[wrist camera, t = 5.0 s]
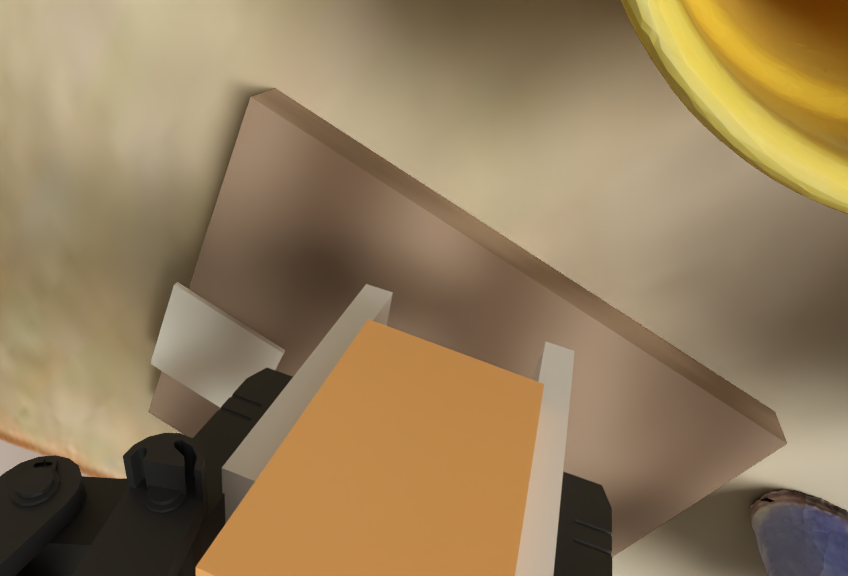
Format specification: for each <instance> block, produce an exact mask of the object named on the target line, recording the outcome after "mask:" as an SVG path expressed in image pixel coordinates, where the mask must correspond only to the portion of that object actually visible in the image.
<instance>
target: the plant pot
mask: <svg viewBox="0 0 848 576" xmlns="http://www.w3.org/2000/svg"><path fill="white" fill-rule="evenodd" d="M621 2H622V5H623V7H624V9H625V12H626V14H627V16H628V18H629V20H630V22H631V24H632V26H633V28H634V30H635V32H636V34H637V36H638V37H639V39H640V41H641V43H642V44H643V46H644V47H645V49H646V51H647V52H648V54H649V56H650V58H651V59H652V61H653V62H654V64H655V65H656V67H657V68H658V70H659V71H660V72H661V74H662V75H663V77H664V78H665V80H666V81H667V83H668V84H669V86H670V87H671V89H672V90H673V91H674V93H675V94H676V95H677V96H678V97H679V99H680V100H681V101H682V102H683V103H684V105H685V106H686V107H687V108H688V110H689V111H690V112H691V113H692V114H693V115H694V116H695V117H696V118H697V119H698V120H699V121H700V122H701V123H702V124H703V125H704V126H705V127H706V128H707V129H708V130H709V131H710V132H712V133H713V134H714V135H715V136H716V137H717V138H718V139H719V140H720V141H722V142H723V143H724V144H725V145H727V146H728V147H729V148H730V149H732V150H733V151H734V152H735V153H736V154H738V155H739V156H740V157H741V158H743V159H744V160H745V161H746V162H748V163H749V164H751V165H752V166H754V167H755V168H757V169H758V170H760V171H761V172H763V173H764V174H766V175H767V176H769V177H770V178H772V179H774V180H775V181H777V182H779V183H781V184H783V185H784V186H786V187H788V188H790V189H791V190H793V191H795V192H797V193H799V194H801V195H803V196H806V197H808V198H810V199H812V200H815V201H817V202H819V203H821V204H824V205H826V206H828V207H830V208H833V209H836V210H839V211H841V212H844V213H847V214H848V0H621Z"/></svg>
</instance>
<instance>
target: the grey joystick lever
mask: <svg viewBox="0 0 848 576" xmlns="http://www.w3.org/2000/svg"><path fill="white" fill-rule="evenodd" d="M543 389H544V384H543V383H540V382H537V381H535V380H532V379H529V378H526V377H524V376H521V375H518V374H516V373H513V372H510V371H507V370H505V369H502V368H499V367H497V366H494V365H491V364H489V363H486V362H483V361H480V360H478V359H475V358H472V357H470V356H467V355H464V354H461V353H459V352H456V351H453V350H451V349H448V348H445V347H443V346H440V345H437V344H434V343H432V342H429V341H426V340H424V339H421V338H418V337H415V336H413V335H410V334H407V333H405V332H402V331H399V330H397V329H394V328H391V327H388V326H386V325H383V324H380V323H378V322H375V321H372V320H369V319H368V320H367V321H366V323H365V324H364V326H363V327H362V328H361V330H360V331H359V333H358V334H357V336H356V337H355V339H354V340H353V341H352V343H351V344H350V346H349V347H348V349H347V350H346V351H345V353H344V354H343V356H342V357H341V359H340V360H339V362H338V363H337V364H336V366H335V367H334V369H333V370H332V372H331V373H330V374H329V376H328V377H327V379H326V380H325V382H324V383H323V385H322V386H321V387H320V389H319V390H318V392H317V393H316V395H315V396H314V397H313V399H312V400H311V402H310V403H309V405H308V406H307V408H306V409H305V410H304V412H303V413H302V415H301V416H300V418H299V419H298V420H297V422H296V423H295V425H294V426H293V428H292V429H291V431H290V432H289V433H288V435H287V436H286V438H285V439H284V441H283V442H282V443H281V445H280V446H279V448H278V449H277V451H276V452H275V454H274V455H273V456H272V458H271V459H270V461H269V462H268V464H267V465H266V466H265V468H264V469H263V471H262V472H261V474H260V475H259V477H258V478H257V479H256V481H255V482H254V484H253V485H252V487H251V488H250V489H249V491H248V492H247V494H246V495H245V497H244V498H243V500H242V501H241V502H240V504H239V505H238V507H237V508H236V510H235V511H234V512H233V514H232V515H231V517H230V518H229V520H228V521H227V523H226V524H225V525H224V527H223V528H222V530H221V531H220V533H219V534H218V535H217V537H216V538H215V540H214V541H213V543H212V544H211V546H210V547H209V548H208V550H207V551H206V553H205V554H204V556H203V557H202V558H201V560H200V561H199V563H198V564H197V566H196V576H515V572H516V565H517V559H518V552H519V546H520V539H521V533H522V526H523V520H524V513H525V507H526V500H527V494H528V487H529V480H530V474H531V467H532V461H533V454H534V448H535V441H536V435H537V428H538V422H539V415H540V409H541V402H542V396H543Z"/></svg>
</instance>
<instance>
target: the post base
mask: <svg viewBox="0 0 848 576" xmlns="http://www.w3.org/2000/svg"><path fill="white" fill-rule="evenodd" d="M366 284H368V285H371V286H374V287H377V288H380V289H384V290H387V291H390V292H393V294H392V299H391V305H390V310H389V316H388V322H387V326H388V327H391V328H394V329H397V330H399V331H402V332H405V333H407V334H410V335H413V336H415V337H418V338H421V339H424V340H426V341H429V342H432V343H434V344H437V345H440V346H443V347H445V348H448V349H451V350H453V351H456V352H459V353H461V354H464V355H467V356H470V357H472V358H475V359H478V360H480V361H483V362H486V363H489V364H491V365H494V366H497V367H499V368H502V369H505V370H507V371H510V372H513V373H516V374H518V375H521V376H524V377H526V378H529V379H531V378H532V375H533V373H534V370H535V367H536V365H537V362H538V360H539V357H540V354H541V352H542V349H543V347H544V344H545V341H546V342H549V343H552V344H555V345H558V346H561V347H564V348H567V349H571V350H574V351H575V353H574V363H573V374H572V384H571V395H570V405H569V416H568V427H567V437H566V448H565V458H564V469H563V471H564V472H566V473H569V474H572V475H575V476H578V477H581V478H583V479H586V480H589V481H592V482H595V483H597V484H600V485H602V486H603V489H604V491H605V493H606V496H607V498H608V501H609V503H610V505H611V508H612V533H611V537H612V553H611V556H612V557H613V556H614V555H616V554H617V553H619V552H621V551H622V550H624V549H625V548H627V547H628V546H630V545H631V544H633V543H634V542H636V541H638V540H639V539H641V538H642V537H644V536H645V535H647V534H648V533H650V532H651V531H653V530H655V529H656V528H658V527H659V526H661V525H662V524H664V523H665V522H667V521H668V520H670V519H672V518H673V517H675V516H676V515H678V514H679V513H681V512H682V511H684V510H685V509H687V508H689V507H690V506H692V505H693V504H695V503H696V502H698V501H699V500H701V499H702V498H704V497H706V496H707V495H709V494H710V493H712V492H713V491H715V490H716V489H718V488H719V487H721V486H723V485H724V484H726V483H727V482H729V481H730V480H732V479H733V478H735V477H736V476H738V475H740V474H741V473H743V472H744V471H746V470H747V469H749V468H750V467H752V466H753V465H755V464H757V463H758V462H760V461H761V460H763V459H764V458H766V457H767V456H769V455H770V454H772V453H774V452H775V451H777V450H778V449H780V448H781V447H783V446H784V445H786V444H787V442H786V439H785V437H784V434H783V431H782V429H781V426H780V424H779V421H778V418H777V416H776V413H775V412H774V411H773V410H771V409H770V408H768V407H766V406H765V405H763V404H762V403H760V402H759V401H757V400H756V399H754V398H753V397H751V396H749V395H748V394H746V393H745V392H743V391H742V390H740V389H739V388H737V387H736V386H734V385H732V384H731V383H729V382H728V381H726V380H725V379H723V378H722V377H720V376H719V375H717V374H715V373H714V372H712V371H711V370H709V369H708V368H706V367H705V366H703V365H702V364H700V363H698V362H697V361H695V360H694V359H692V358H691V357H689V356H688V355H686V354H685V353H683V352H681V351H680V350H678V349H677V348H675V347H674V346H672V345H671V344H669V343H668V342H666V341H664V340H663V339H661V338H660V337H658V336H657V335H655V334H654V333H652V332H651V331H649V330H647V329H646V328H644V327H643V326H641V325H640V324H638V323H637V322H635V321H634V320H632V319H630V318H629V317H627V316H626V315H624V314H623V313H621V312H620V311H618V310H617V309H615V308H614V307H612V306H610V305H609V304H607V303H606V302H604V301H603V300H601V299H600V298H598V297H597V296H595V295H593V294H592V293H590V292H589V291H587V290H586V289H584V288H583V287H581V286H580V285H578V284H576V283H575V282H573V281H572V280H570V279H569V278H567V277H566V276H564V275H563V274H561V273H559V272H558V271H556V270H555V269H553V268H552V267H550V266H549V265H547V264H546V263H544V262H542V261H541V260H539V259H538V258H536V257H535V256H533V255H532V254H530V253H529V252H527V251H525V250H524V249H522V248H521V247H519V246H518V245H516V244H515V243H513V242H512V241H510V240H508V239H507V238H505V237H504V236H502V235H501V234H499V233H498V232H496V231H495V230H493V229H491V228H490V227H488V226H487V225H485V224H484V223H482V222H481V221H479V220H478V219H476V218H474V217H473V216H471V215H470V214H468V213H467V212H465V211H464V210H462V209H461V208H459V207H458V206H456V205H454V204H453V203H451V202H450V201H448V200H447V199H445V198H444V197H442V196H441V195H439V194H437V193H436V192H434V191H433V190H431V189H430V188H428V187H427V186H425V185H424V184H422V183H420V182H419V181H417V180H416V179H414V178H413V177H411V176H410V175H408V174H407V173H405V172H403V171H402V170H400V169H399V168H397V167H396V166H394V165H393V164H391V163H390V162H388V161H386V160H385V159H383V158H382V157H380V156H379V155H377V154H376V153H374V152H373V151H371V150H369V149H368V148H366V147H365V146H363V145H362V144H360V143H359V142H357V141H356V140H354V139H352V138H351V137H349V136H348V135H346V134H345V133H343V132H342V131H340V130H339V129H337V128H335V127H334V126H332V125H331V124H329V123H328V122H326V121H325V120H323V119H322V118H320V117H318V116H317V115H315V114H314V113H312V112H311V111H309V110H308V109H306V108H305V107H303V106H301V105H300V104H298V103H297V102H295V101H294V100H292V99H291V98H289V97H288V96H286V95H285V94H283V93H281V92H280V91H278V90H277V89H272V90H269V91H266V92H263V93H260V94H257V95H254V96H252V97H250V100H249V103H248V106H247V109H246V112H245V115H244V118H243V121H242V124H241V128H240V131H239V134H238V137H237V140H236V143H235V146H234V149H233V152H232V155H231V158H230V162H229V165H228V168H227V171H226V174H225V177H224V180H223V183H222V186H221V189H220V192H219V195H218V199H217V202H216V205H215V208H214V211H213V214H212V217H211V220H210V223H209V226H208V229H207V233H206V236H205V239H204V242H203V245H202V248H201V251H200V254H199V257H198V260H197V263H196V266H195V270H194V273H193V276H192V279H191V282H190V285H189V288H186V287H184V286H183V285H181V284H180V283H178V282H177V283H175V284H174V286H173V289H172V293H171V296H170V299H169V303H168V306H167V309H166V313H165V316H164V319H163V323H162V326H161V329H160V333H159V336H158V339H157V343H156V346H155V349H154V353H153V356H152V359H151V362H150V364H151V365H153V366H155V367H156V368H158V369H159V370H161V375H160V378H159V381H158V384H157V387H156V390H155V393H154V396H153V399H152V402H151V405H150V408H149V413H151V414H152V415H154V416H156V417H157V418H159V419H160V420H162V421H164V422H165V423H167V424H168V425H170V426H172V427H173V428H175V429H176V430H178V431H180V432H181V433H183V434H184V435H186V436H188V437H191V438H193V437H194V436H195V435H196V434H197V433H198V432H199V431H200V430H201V428H202V427H203V426H204V425H205V424H206V423H207V422H208V421H209V420H210V418H211V417H212V416H213V415H214V414H215V413H216V412H217V411H218V410H220V409H221V406H222V405H223V404H224V403H225V402H226V401H227V400H228V398H229V397H232V394H233V393H234V392H235V391H236V390H237V388H238V387H239V386H240V385H241V384H242V383H243V382H244V381H245V380H246V378H248V377H250V376H252V375H254V374H256V373H257V372H259V371H261V370H263V369H265V368H270V369H273V370H276V371H279V372H281V373H284V374H287V375H290V376H293V377H294V375H295V374H296V373H297V371H298V370H299V369H300V368H301V366H302V365H303V364H304V363H305V361H306V360H307V359H308V357H309V356H310V355H311V354H312V352H313V351H314V350H315V349H316V347H317V346H318V345H319V344H320V342H321V341H322V340H323V338H324V337H325V336H326V335H327V333H328V332H329V331H330V330H331V328H332V327H333V326H334V324H335V323H336V322H337V321H338V319H339V318H340V317H341V316H342V314H343V313H344V312H345V310H346V309H347V308H348V307H349V305H350V304H351V303H352V302H353V300H354V299H355V298H356V296H357V295H358V294H359V293H360V291H361V290H362V289H363V288H364V286H365V285H366Z"/></svg>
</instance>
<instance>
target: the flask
mask: <svg viewBox="0 0 848 576" xmlns="http://www.w3.org/2000/svg"><path fill="white" fill-rule="evenodd" d="M794 491H795V490H794ZM767 497H768V499H771V500H774V502H768V501H761V500H757V501H756V504H755V503H754V504H753V505H750V510H751V516H750V520H751V524H752V528H753V531H754V532H755V535H756V540H757V544H758V549H759V552H760V555H761V557H762V560H763V564H764V567H765V570H766V574H767V576H848V512H847V511H846V512H845V511H844V510H843V509H840V508H837V507H835V506H833V504H830V503H829V502H827V501H825V500H823V499H822V498H821V499H818V498H816V497H810V496H808V495H805V494H802V493H799V492H797V491H795V492H791V491H789V490H787V489H783V490H781V491H771V492H769V493H765V494H764V495H763V496H762V497H761V498H760V499H764V498H767Z"/></svg>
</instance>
